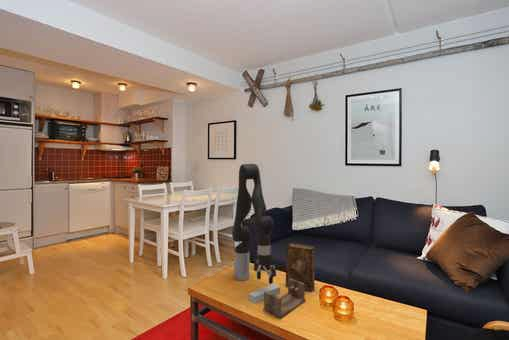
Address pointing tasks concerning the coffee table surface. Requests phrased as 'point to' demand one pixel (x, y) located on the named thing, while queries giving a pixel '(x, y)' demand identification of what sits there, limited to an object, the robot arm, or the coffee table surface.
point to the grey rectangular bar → (259, 294)
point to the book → (300, 264)
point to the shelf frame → (285, 300)
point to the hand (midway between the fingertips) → (264, 281)
